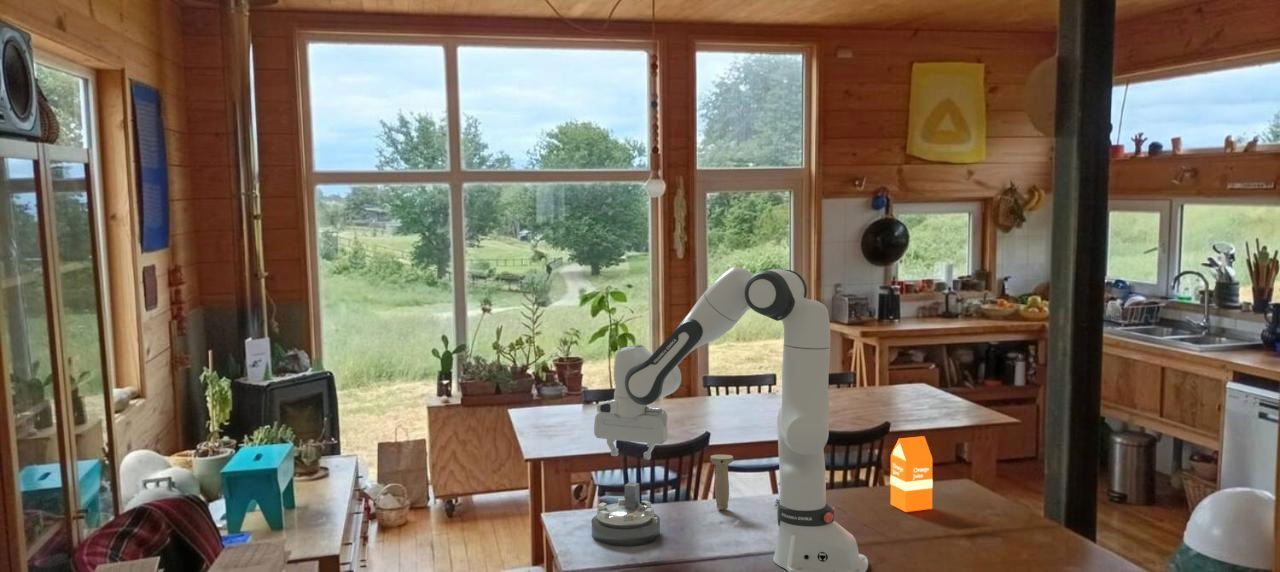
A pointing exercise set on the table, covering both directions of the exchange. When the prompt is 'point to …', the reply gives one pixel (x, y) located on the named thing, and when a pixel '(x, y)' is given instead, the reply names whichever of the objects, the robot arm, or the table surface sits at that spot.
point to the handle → (722, 479)
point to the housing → (626, 533)
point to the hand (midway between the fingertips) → (630, 457)
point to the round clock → (626, 510)
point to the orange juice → (911, 475)
